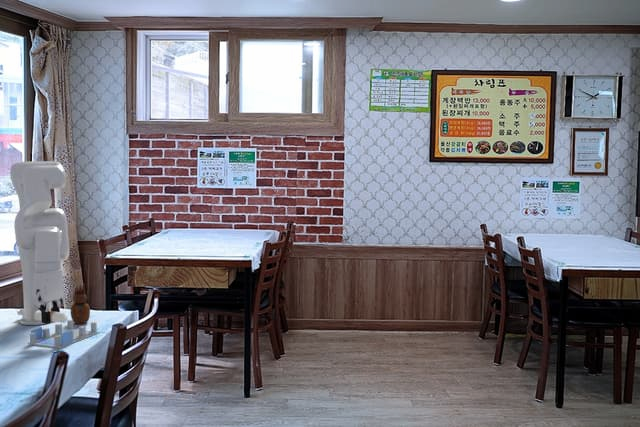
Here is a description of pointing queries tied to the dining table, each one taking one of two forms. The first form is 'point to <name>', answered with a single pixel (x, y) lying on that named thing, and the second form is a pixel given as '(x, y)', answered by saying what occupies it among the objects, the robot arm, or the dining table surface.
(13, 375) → the dining table surface
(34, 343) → the blue and grey tray
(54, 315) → the white rounded bar
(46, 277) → the robot arm
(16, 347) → the dining table surface
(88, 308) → the wooden figurine
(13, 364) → the dining table surface
